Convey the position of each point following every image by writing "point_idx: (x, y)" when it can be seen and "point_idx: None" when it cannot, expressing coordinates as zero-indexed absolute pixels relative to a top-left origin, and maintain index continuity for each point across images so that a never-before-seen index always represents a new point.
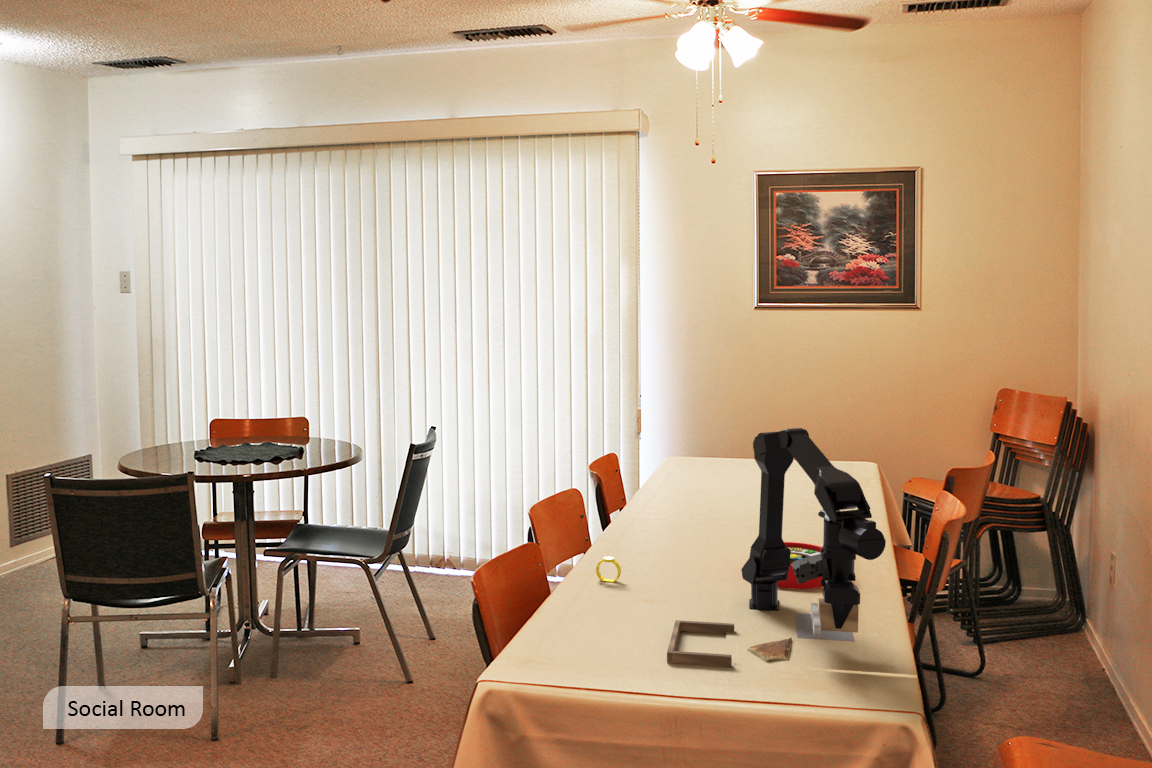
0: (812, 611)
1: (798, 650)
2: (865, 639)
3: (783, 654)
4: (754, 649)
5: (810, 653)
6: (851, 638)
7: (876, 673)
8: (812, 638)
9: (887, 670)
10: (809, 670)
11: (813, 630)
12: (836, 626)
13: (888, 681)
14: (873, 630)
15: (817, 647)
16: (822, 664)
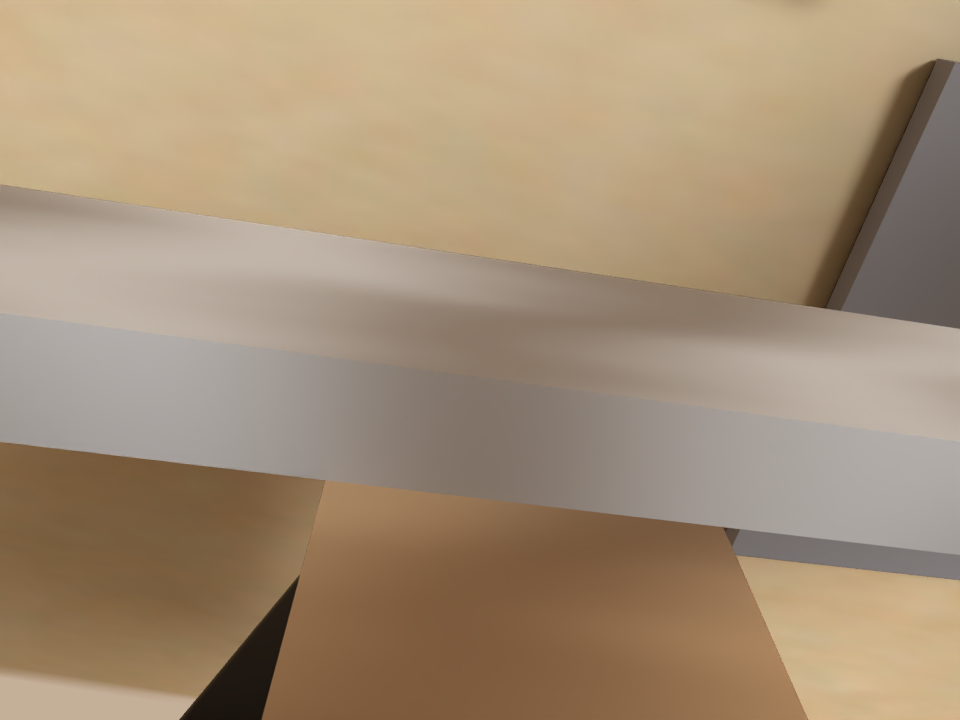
0: (717, 411)
1: (633, 3)
2: (786, 613)
3: None
4: None
5: (539, 130)
6: (785, 545)
7: (151, 554)
8: (874, 232)
9: (223, 620)
10: (57, 13)
11: (203, 234)
12: (286, 597)
13: (26, 590)
14: (931, 682)
15: (689, 238)
16: (255, 195)
